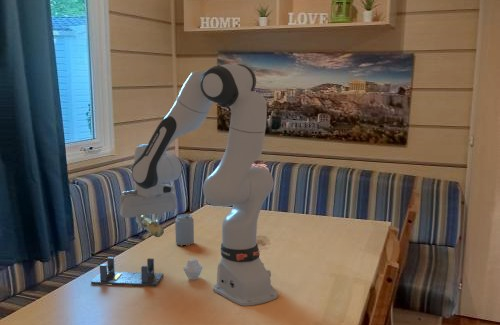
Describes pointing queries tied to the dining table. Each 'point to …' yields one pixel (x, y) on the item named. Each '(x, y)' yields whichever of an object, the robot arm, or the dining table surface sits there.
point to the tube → (152, 226)
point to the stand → (128, 275)
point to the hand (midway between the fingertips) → (149, 226)
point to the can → (184, 229)
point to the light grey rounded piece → (193, 269)
